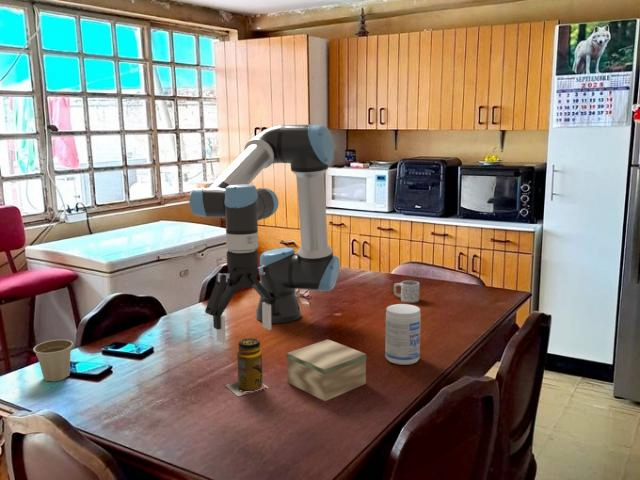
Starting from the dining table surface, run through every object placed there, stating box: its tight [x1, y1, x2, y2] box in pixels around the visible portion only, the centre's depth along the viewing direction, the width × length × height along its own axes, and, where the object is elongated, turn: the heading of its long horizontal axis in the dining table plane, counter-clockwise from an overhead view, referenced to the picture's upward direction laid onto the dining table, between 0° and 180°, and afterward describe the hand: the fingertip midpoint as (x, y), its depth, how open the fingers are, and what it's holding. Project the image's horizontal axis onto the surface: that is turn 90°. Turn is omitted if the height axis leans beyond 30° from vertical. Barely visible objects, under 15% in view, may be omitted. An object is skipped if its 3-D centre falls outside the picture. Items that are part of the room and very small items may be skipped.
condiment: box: [225, 337, 269, 397], centre depth 147 cm, size 7×8×12 cm
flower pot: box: [32, 339, 74, 383], centre depth 154 cm, size 9×9×9 cm
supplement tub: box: [384, 303, 422, 366], centre depth 163 cm, size 10×10×15 cm
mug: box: [393, 280, 420, 304], centre depth 220 cm, size 10×7×7 cm, turn 58°
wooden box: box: [286, 339, 368, 402], centre depth 149 cm, size 14×14×8 cm
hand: (244, 334), depth 145 cm, fingers open, 13 cm apart
